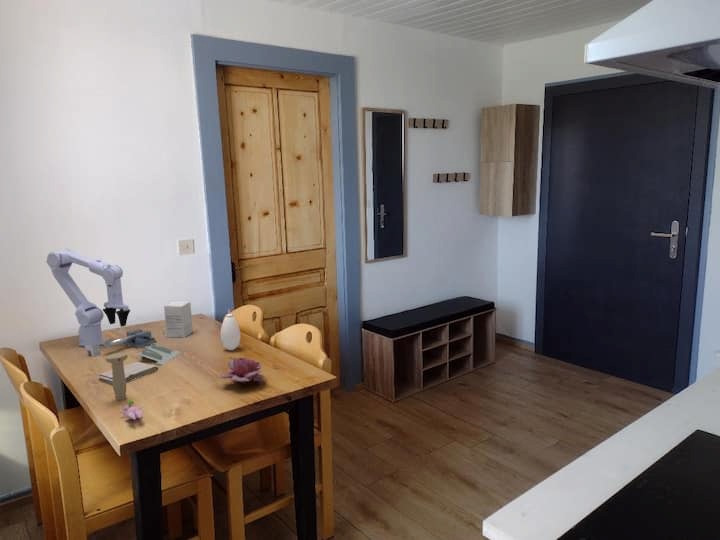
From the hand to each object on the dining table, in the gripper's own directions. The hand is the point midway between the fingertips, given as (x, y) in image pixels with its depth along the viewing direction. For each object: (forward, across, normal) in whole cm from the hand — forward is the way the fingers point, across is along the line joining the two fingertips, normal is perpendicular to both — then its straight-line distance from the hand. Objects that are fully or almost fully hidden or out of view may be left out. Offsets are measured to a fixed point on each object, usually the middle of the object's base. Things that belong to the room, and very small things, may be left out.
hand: (117, 324), depth 233 cm
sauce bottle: (+10, +47, +20) cm, 52 cm away
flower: (+10, +79, -5) cm, 80 cm away
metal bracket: (+10, +29, -3) cm, 31 cm away
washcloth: (+10, +35, -20) cm, 41 cm away
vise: (+9, +7, 0) cm, 12 cm away
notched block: (+9, +1, -13) cm, 16 cm away
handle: (+10, +52, -35) cm, 63 cm away
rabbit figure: (+10, +68, -42) cm, 80 cm away
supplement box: (+10, +10, +24) cm, 28 cm away
